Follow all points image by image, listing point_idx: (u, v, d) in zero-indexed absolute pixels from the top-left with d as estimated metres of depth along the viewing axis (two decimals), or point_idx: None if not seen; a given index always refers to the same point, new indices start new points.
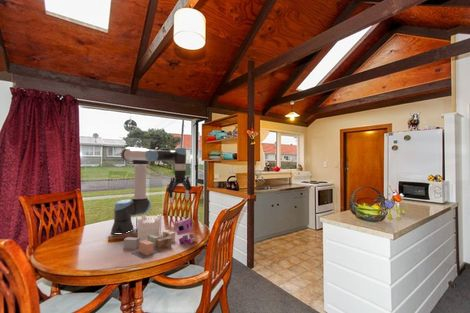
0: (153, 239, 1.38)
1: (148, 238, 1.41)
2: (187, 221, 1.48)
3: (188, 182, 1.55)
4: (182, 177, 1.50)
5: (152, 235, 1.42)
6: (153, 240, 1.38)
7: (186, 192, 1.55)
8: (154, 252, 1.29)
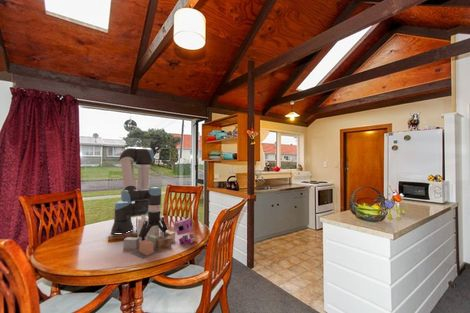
0: (153, 239, 1.38)
1: (148, 238, 1.41)
2: (187, 221, 1.48)
3: (163, 223, 1.46)
4: (156, 218, 1.42)
5: (152, 235, 1.42)
6: (153, 240, 1.38)
7: (161, 234, 1.46)
8: (154, 252, 1.29)
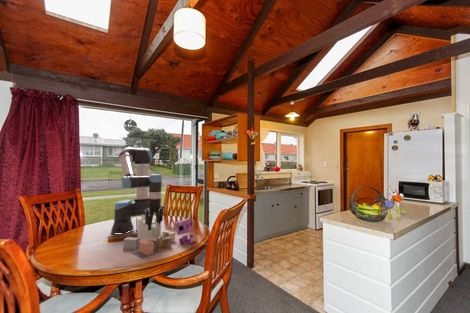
0: (153, 229, 1.39)
1: None
2: (187, 221, 1.48)
3: (161, 212, 1.45)
4: None
5: None
6: (153, 230, 1.39)
7: None
8: (154, 252, 1.29)
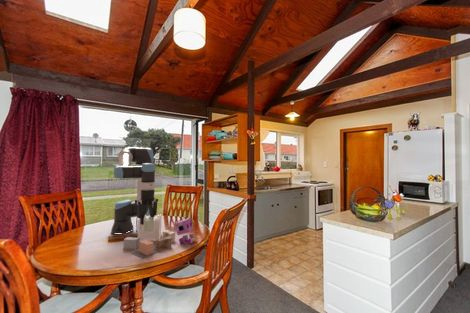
0: (146, 223, 1.26)
1: None
2: (187, 221, 1.48)
3: (155, 205, 1.33)
4: (151, 196, 1.30)
5: (145, 219, 1.30)
6: (146, 224, 1.26)
7: None
8: (154, 252, 1.29)
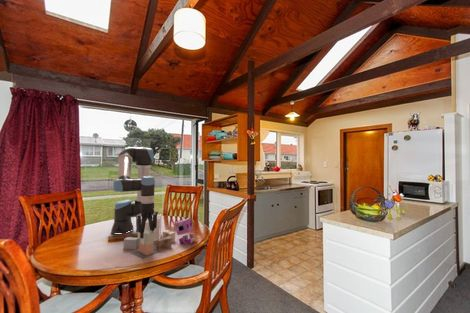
0: (146, 235, 1.26)
1: None
2: (187, 221, 1.48)
3: (155, 218, 1.32)
4: (151, 209, 1.30)
5: (145, 231, 1.30)
6: (146, 236, 1.26)
7: None
8: (154, 252, 1.29)
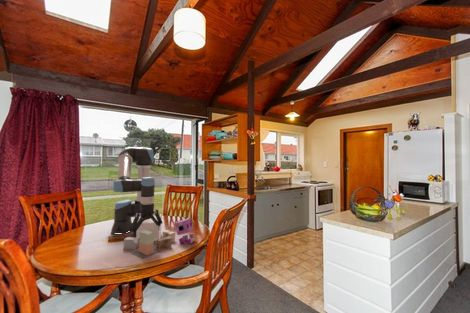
0: (146, 235, 1.26)
1: (140, 234, 1.29)
2: (187, 221, 1.48)
3: (158, 216, 1.34)
4: (150, 211, 1.30)
5: (145, 231, 1.30)
6: (146, 236, 1.26)
7: (155, 228, 1.34)
8: (154, 252, 1.29)
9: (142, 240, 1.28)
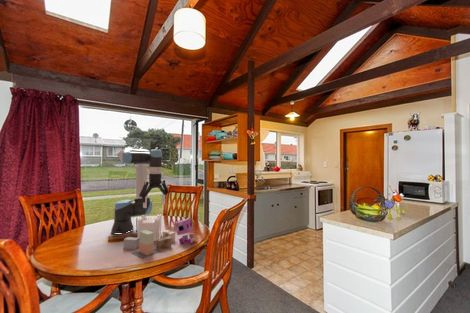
0: (146, 235, 1.26)
1: (140, 234, 1.29)
2: (187, 221, 1.48)
3: (165, 186, 1.47)
4: (157, 181, 1.42)
5: (145, 231, 1.30)
6: (146, 236, 1.26)
7: (162, 196, 1.47)
8: (154, 252, 1.29)
9: (142, 240, 1.28)
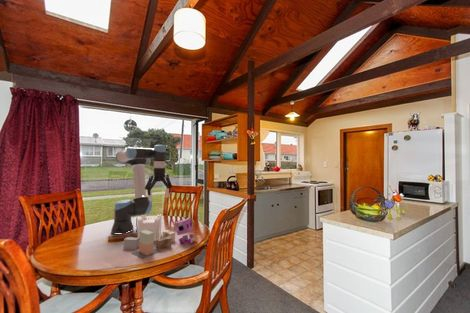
0: (146, 235, 1.26)
1: (140, 234, 1.29)
2: (187, 221, 1.48)
3: (168, 180, 1.54)
4: (161, 175, 1.49)
5: (145, 231, 1.30)
6: (146, 236, 1.26)
7: (166, 190, 1.54)
8: (154, 252, 1.29)
9: (142, 240, 1.28)
